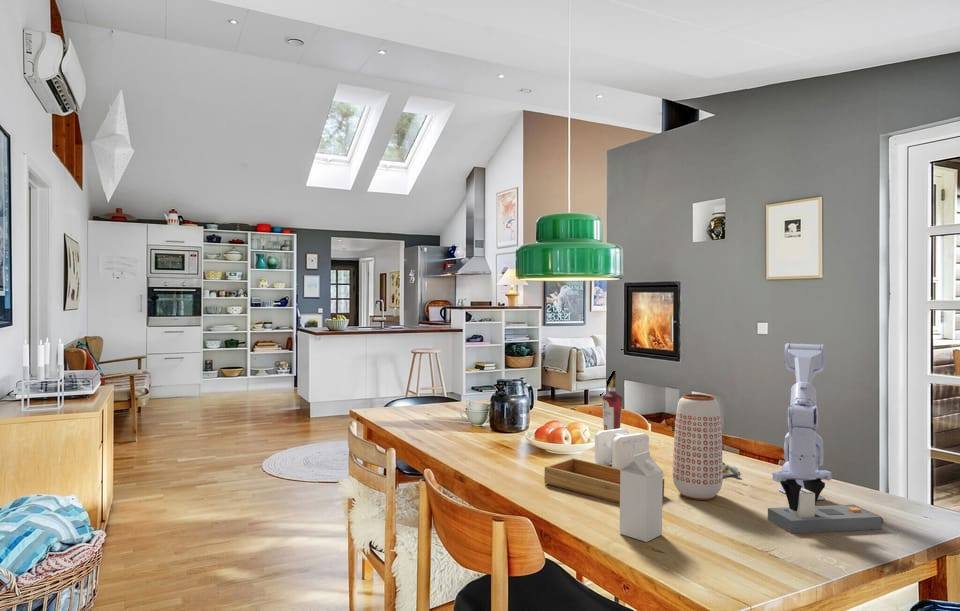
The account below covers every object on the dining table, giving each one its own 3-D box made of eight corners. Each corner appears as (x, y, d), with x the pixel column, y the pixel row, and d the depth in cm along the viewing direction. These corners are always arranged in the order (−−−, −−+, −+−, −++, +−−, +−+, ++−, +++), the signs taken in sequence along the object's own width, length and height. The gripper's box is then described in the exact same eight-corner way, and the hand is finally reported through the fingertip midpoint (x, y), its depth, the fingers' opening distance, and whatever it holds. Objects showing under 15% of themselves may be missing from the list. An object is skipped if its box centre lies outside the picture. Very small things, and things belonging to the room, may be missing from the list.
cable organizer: (626, 460, 209) (627, 427, 209) (650, 468, 200) (650, 433, 200) (594, 466, 202) (594, 431, 202) (616, 474, 193) (617, 437, 192)
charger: (788, 517, 151) (789, 488, 151) (803, 516, 151) (803, 488, 151) (799, 522, 147) (800, 493, 147) (814, 522, 147) (815, 493, 147)
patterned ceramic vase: (699, 486, 180) (700, 391, 180) (733, 500, 168) (734, 398, 168) (662, 490, 176) (663, 393, 175) (694, 505, 163) (695, 400, 163)
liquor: (597, 445, 231) (598, 372, 231) (612, 443, 235) (613, 371, 235) (610, 449, 225) (611, 374, 225) (625, 447, 228) (626, 373, 228)
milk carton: (619, 534, 142) (620, 453, 142) (635, 526, 147) (636, 448, 147) (646, 543, 137) (647, 459, 137) (662, 534, 142) (663, 453, 142)
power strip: (791, 533, 144) (791, 518, 144) (767, 519, 153) (767, 505, 153) (897, 528, 148) (898, 513, 148) (868, 515, 157) (869, 501, 157)
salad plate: (756, 476, 193) (757, 462, 193) (716, 483, 185) (716, 468, 185) (709, 462, 210) (709, 449, 210) (670, 468, 202) (670, 454, 202)
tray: (664, 497, 171) (664, 477, 171) (638, 510, 160) (639, 488, 160) (572, 475, 192) (572, 457, 192) (544, 485, 181) (544, 466, 181)
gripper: (785, 459, 144) (785, 516, 144) (840, 457, 146) (840, 513, 146) (767, 452, 151) (766, 506, 151) (820, 450, 153) (819, 504, 153)
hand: (801, 509), depth 149 cm, fingers closed on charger, 4 cm apart
